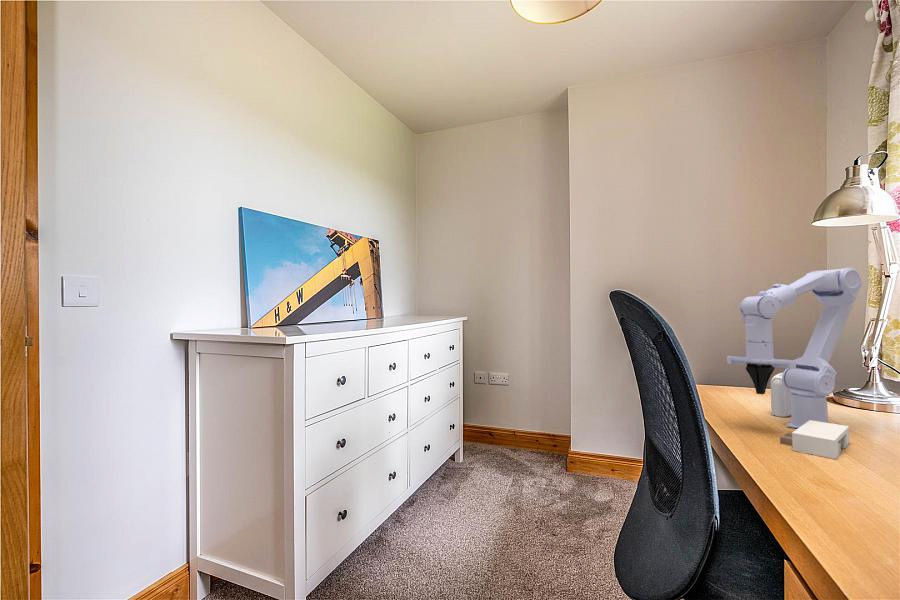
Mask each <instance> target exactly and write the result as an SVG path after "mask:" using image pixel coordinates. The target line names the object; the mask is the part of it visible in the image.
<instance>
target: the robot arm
mask: <svg viewBox="0 0 900 600" xmlns="http://www.w3.org/2000/svg"><path fill="white" fill-rule="evenodd" d="M862 285H863V281H862V277H861V275H860V272H858V270H857V269H855V268H853V267H845V268H837V269H825V270H824V269H823V270H812V271H810V272H807V273H805V275H804V276H802V277H801V278H799V279H796V280H795V281H794V282H792V283H790V284H788V285H787V284H782V283H774V284H773V285H771V288H769V289H767V290H765V291H764V290H762V291H760V292H758V294H757V295H755V296H747V297H745V298H744V299H743V300H742V301H740V305H739V306H738V311H739V313H740V315H741V316H742V322H743V323H744V325H745V350H746V351H745V353H746V354H745V356H737V355H727V356H726V363H727V364H728V365H732V364H734V365H745V370H746V372H747V373H748V375H749V376H750V378H751V381H752V383H753V386H754V389H755V392H756V394H757V395H765V394H766V391H767V390H766V389H767V386H768V383H769V380H770V378H771V376H772V375H773V373H774V371H775V369H776V368H782V369H785V370H783V372H782V373H783V375H782V381H783V384H784V386H785V387H786V388H788V392H791V415H790V416H791V421H790V422H789V423H787V424H786V427H789V428H794V429H798V428H799V427H801V426H802V425H804V424H805V423H806V422H808V421H809V420H812V421H819V422H825V423H829V413H828V410H829V409H828V408H829V407H828V401H827V397H829V396H830V395H831V394H832V392H833V391H834V389H835V387H836V377H837V374H838V373H837V371H836V369H834V367H833V366H832V365H831V364H830V360H831V358H832V356H833V354H834V352H835V349H836V346H837V344H838V342H839V340H840V337H841V335H842V332H843V330H844V328H845V326H846V323H847V321H848V319H849V317H850V314H851V311H852V309H853V306H854V302H855V301H856V300H857V297H858V295H859V292H860V290H861V288H862ZM808 292H811V293H812V295H813V296H814V298H815V299H816V301H817V302H818V303H821V304H823V309H822V311H821V315H819V319H818V321H817V324H816V325H815V328H814V329H813V332H812V334H811V337H810V339H809V341H808V343H807V346H806V347H805V351H804V352H803V355H802V356H799V357H798V358H796V359H793V360H791V359H781V358H774V337H773V336H774V335H773V331H774V330H773V318H775V317H776V316H777V314H778V312H779V311H780V310H782V309H784V308H786V307H788V306H790V305H792V304H794V303H795V302H796V300H797V297H798V296H800V295H803V294H806V293H808Z"/></svg>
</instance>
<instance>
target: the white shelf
mask: <svg viewBox="0 0 900 600" xmlns="http://www.w3.org/2000/svg"><path fill="white" fill-rule="evenodd" d="M791 432H792V446H791V447H792V451H793V452H797V451H798V453H803V454H808V455H812V454H813V456H817V457H822V458H826V457H827V459H831V460H837V458H838V457H839V456H840V454H841V453H842V449H844V450H845V449H846V447H848V445H849V444H850V441H851V440H850V426H849V425H843V424H836V423H832V422H831V423H830V422H828V423H825V422H819V421H812V420H809V421H808V422H806V423H805V424H804V425H802V426H801V427H799V428H796V429H795V430H794V431H791Z"/></svg>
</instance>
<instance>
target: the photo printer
mask: <svg viewBox="0 0 900 600" xmlns="http://www.w3.org/2000/svg"><path fill="white" fill-rule="evenodd" d="M782 375H783V372H780V373H777V374H775V375H774V376H773V377H772V378H771V380H770V406H771V407H770V411H771V414H772V415H773V416H774V415H775V417H781V418H784V417H789V416H791V392H788V388H786V387H785V386H784V384H783V381H782Z"/></svg>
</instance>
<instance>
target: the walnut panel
mask: <svg viewBox="0 0 900 600" xmlns="http://www.w3.org/2000/svg"><path fill="white" fill-rule="evenodd" d="M792 432H793V431H787V432H786V433H784V434H782V435H781V436H780V437H779V441H780V442H779V443H780V444H781V445H786V446H791V447H792Z"/></svg>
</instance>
